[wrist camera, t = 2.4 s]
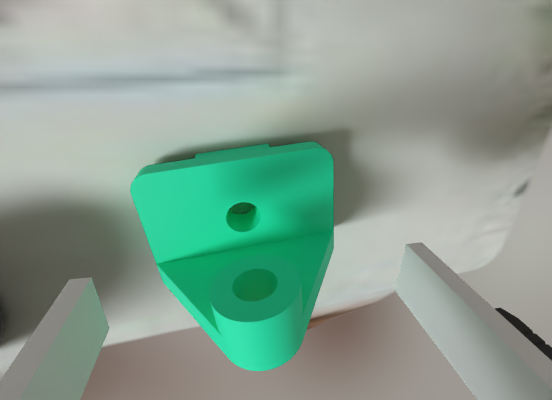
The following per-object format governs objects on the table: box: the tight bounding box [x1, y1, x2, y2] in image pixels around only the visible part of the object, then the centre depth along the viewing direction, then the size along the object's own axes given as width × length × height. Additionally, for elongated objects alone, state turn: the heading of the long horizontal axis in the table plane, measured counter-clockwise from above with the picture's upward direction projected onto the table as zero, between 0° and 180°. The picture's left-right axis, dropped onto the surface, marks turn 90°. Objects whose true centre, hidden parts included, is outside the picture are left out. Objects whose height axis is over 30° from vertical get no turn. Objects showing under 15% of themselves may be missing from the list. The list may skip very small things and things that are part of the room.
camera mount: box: [130, 142, 334, 371], centre depth 16 cm, size 12×8×10 cm, turn 96°
